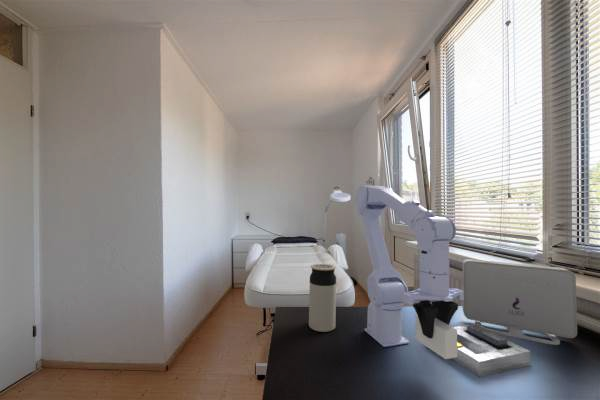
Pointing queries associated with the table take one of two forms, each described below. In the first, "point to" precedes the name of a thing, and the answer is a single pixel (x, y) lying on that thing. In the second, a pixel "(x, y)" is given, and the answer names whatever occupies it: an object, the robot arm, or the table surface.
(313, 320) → the travel mug
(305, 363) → the table surface
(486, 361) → the rack
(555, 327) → the network device
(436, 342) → the rectangular block
